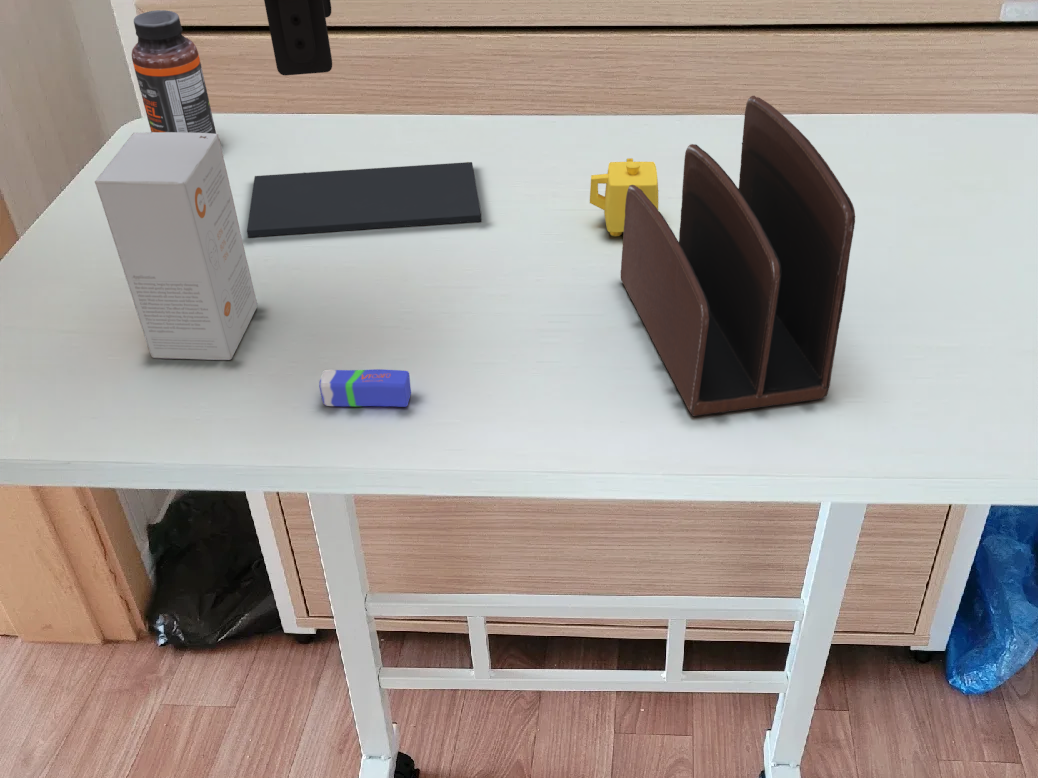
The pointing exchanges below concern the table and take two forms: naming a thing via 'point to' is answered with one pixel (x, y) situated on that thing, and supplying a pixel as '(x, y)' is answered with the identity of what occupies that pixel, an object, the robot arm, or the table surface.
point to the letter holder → (745, 271)
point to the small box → (179, 243)
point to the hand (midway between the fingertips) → (306, 43)
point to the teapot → (623, 190)
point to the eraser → (365, 387)
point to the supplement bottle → (170, 75)
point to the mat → (363, 199)
